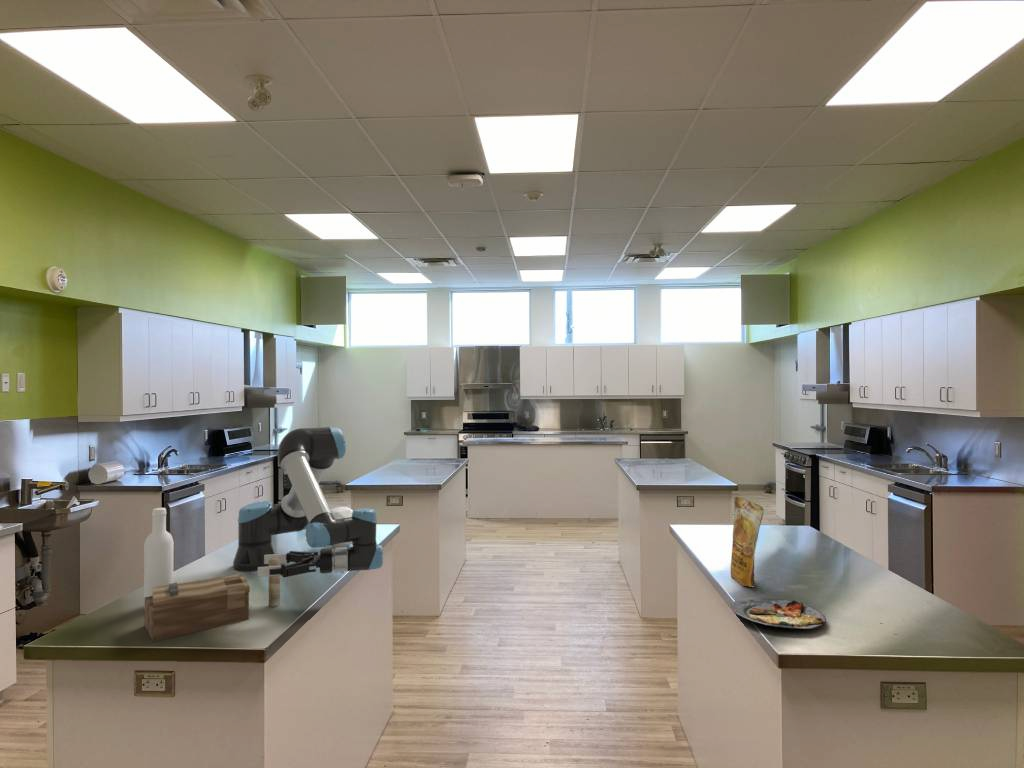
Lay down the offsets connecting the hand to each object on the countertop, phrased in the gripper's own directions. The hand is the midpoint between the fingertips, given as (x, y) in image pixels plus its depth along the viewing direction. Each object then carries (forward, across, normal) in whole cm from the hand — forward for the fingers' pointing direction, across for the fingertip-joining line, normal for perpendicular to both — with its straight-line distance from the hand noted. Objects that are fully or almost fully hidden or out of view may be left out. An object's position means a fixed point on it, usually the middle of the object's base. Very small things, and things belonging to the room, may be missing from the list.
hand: (261, 565), depth 182 cm
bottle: (+30, +8, -13) cm, 34 cm away
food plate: (-147, -50, -13) cm, 156 cm away
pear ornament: (-17, +67, -11) cm, 70 cm away
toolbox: (+16, -9, -12) cm, 22 cm away
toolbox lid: (+15, -7, -4) cm, 17 cm away
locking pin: (-4, 0, -12) cm, 13 cm away
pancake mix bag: (-159, -19, -13) cm, 161 cm away
